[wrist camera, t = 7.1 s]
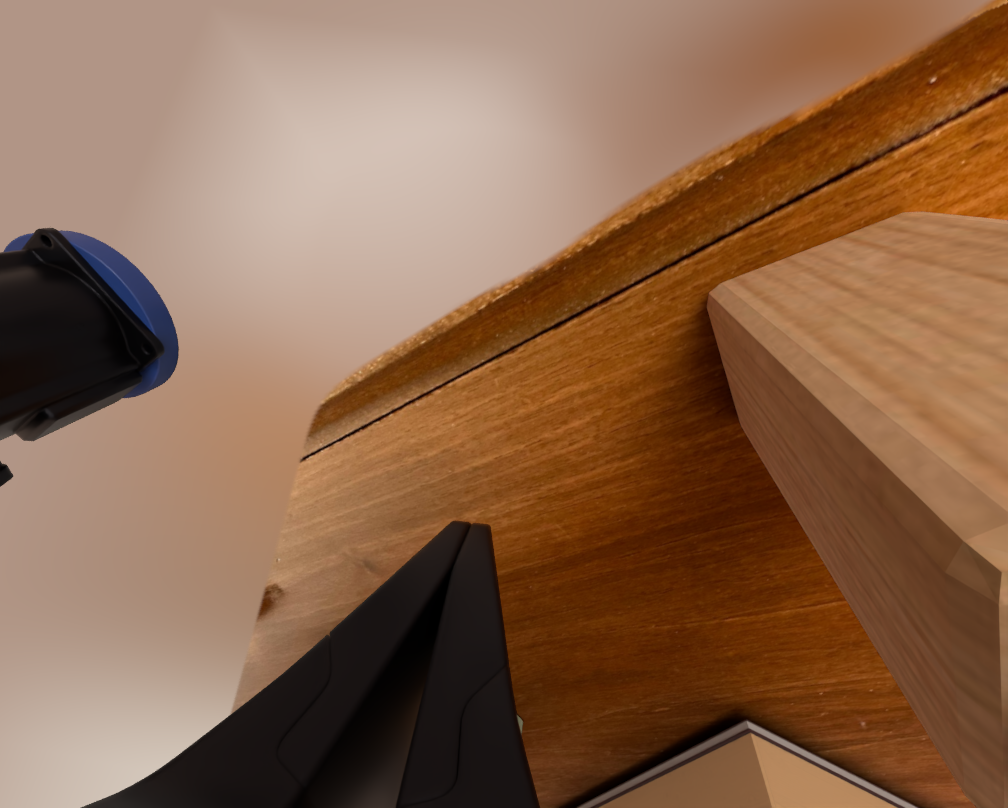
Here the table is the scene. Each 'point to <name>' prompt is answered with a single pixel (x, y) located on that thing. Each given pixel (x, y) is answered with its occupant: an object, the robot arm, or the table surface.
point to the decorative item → (896, 451)
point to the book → (746, 778)
